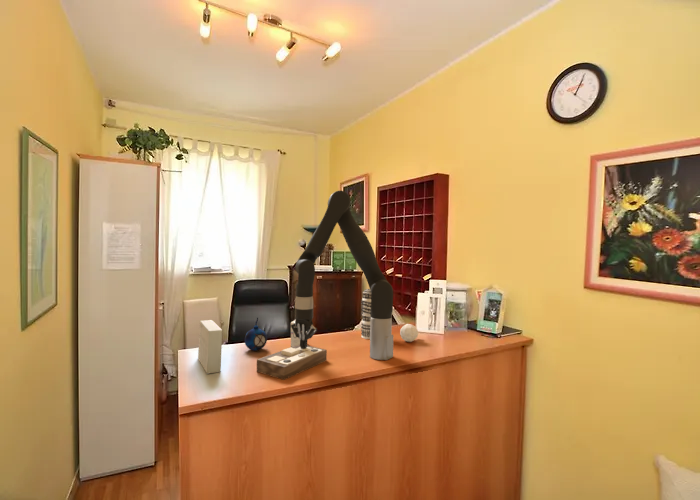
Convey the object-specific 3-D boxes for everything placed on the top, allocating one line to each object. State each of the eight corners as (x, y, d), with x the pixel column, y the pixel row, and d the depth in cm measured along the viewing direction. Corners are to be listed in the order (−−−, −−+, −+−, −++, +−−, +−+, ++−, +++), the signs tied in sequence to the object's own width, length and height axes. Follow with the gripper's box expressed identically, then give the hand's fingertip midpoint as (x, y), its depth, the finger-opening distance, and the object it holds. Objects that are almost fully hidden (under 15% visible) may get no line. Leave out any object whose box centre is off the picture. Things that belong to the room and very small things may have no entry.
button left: (285, 365, 131) (285, 358, 131) (275, 369, 127) (276, 361, 127) (276, 363, 134) (276, 355, 134) (266, 366, 130) (266, 359, 130)
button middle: (299, 356, 138) (299, 349, 138) (290, 360, 134) (291, 352, 133) (290, 354, 140) (290, 347, 140) (281, 357, 136) (281, 350, 136)
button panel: (326, 360, 143) (326, 349, 143) (283, 379, 122) (284, 367, 122) (300, 354, 151) (301, 344, 150) (256, 371, 130) (256, 359, 130)
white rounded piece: (414, 341, 166) (425, 339, 175) (410, 322, 169) (421, 321, 178) (398, 344, 171) (410, 342, 180) (395, 325, 174) (407, 324, 183)
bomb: (249, 355, 148) (250, 320, 148) (241, 349, 157) (241, 316, 156) (271, 351, 154) (271, 318, 153) (262, 345, 162) (262, 314, 162)
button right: (312, 355, 144) (312, 347, 144) (304, 358, 140) (304, 350, 140) (303, 352, 147) (303, 345, 147) (295, 355, 143) (295, 348, 143)
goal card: (322, 350, 141) (322, 349, 141) (286, 365, 124) (286, 363, 124) (314, 348, 144) (314, 347, 144) (277, 362, 126) (277, 361, 126)
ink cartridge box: (296, 342, 169) (296, 312, 168) (306, 343, 168) (306, 313, 167) (290, 347, 160) (290, 316, 160) (300, 348, 159) (300, 316, 159)
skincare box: (222, 371, 129) (222, 329, 128) (206, 374, 126) (207, 331, 126) (211, 356, 147) (212, 318, 146) (197, 358, 144) (198, 320, 143)
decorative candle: (356, 336, 181) (357, 289, 181) (370, 333, 187) (370, 287, 187) (368, 340, 174) (368, 291, 174) (381, 337, 180) (382, 289, 179)
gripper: (322, 307, 143) (321, 349, 143) (298, 304, 150) (297, 343, 151) (310, 310, 137) (309, 353, 137) (286, 306, 144) (285, 347, 144)
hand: (303, 348), depth 144 cm, fingers closed
